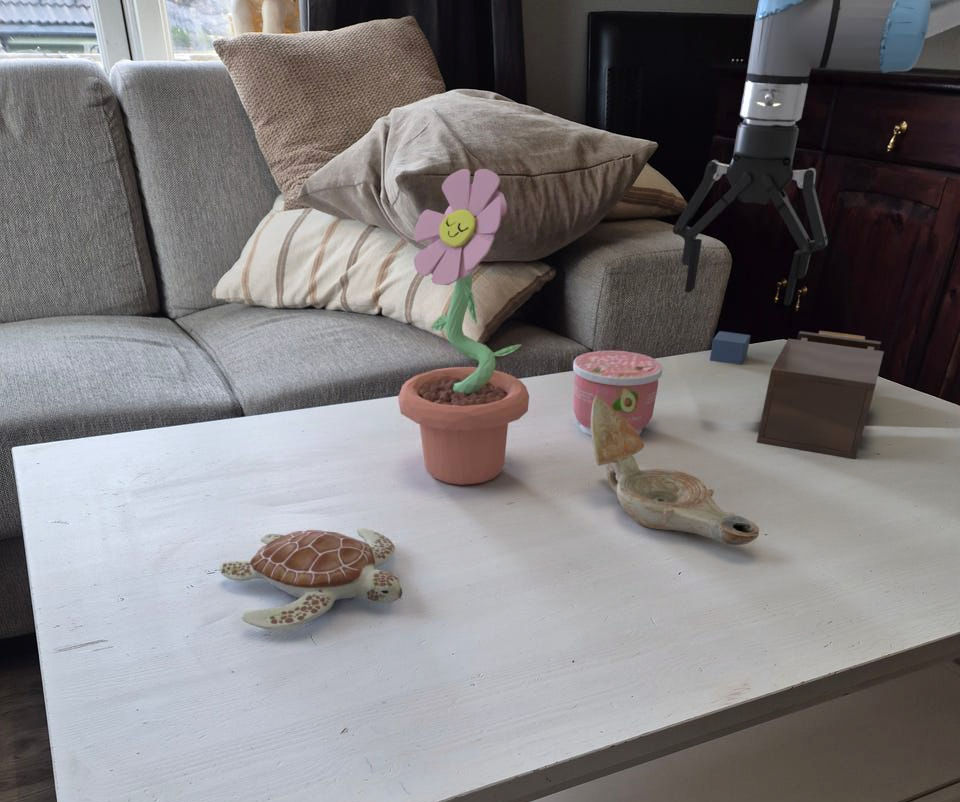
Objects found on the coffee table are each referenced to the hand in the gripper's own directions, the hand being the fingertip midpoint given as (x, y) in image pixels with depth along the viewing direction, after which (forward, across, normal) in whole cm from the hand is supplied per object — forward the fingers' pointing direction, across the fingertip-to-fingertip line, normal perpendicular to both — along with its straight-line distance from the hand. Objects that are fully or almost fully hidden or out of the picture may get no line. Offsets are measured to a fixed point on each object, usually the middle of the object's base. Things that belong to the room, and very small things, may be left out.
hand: (737, 296), depth 128 cm
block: (+10, 0, 0) cm, 10 cm away
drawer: (+9, +15, -9) cm, 20 cm away
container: (+10, -8, -30) cm, 33 cm away
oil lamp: (+10, +4, -52) cm, 53 cm away
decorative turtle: (+10, -20, -78) cm, 81 cm away
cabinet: (+10, +15, -20) cm, 27 cm away
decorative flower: (+10, -20, -50) cm, 55 cm away
